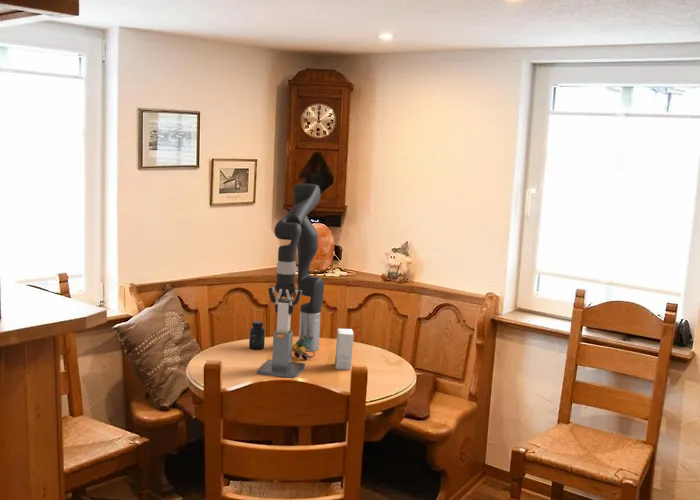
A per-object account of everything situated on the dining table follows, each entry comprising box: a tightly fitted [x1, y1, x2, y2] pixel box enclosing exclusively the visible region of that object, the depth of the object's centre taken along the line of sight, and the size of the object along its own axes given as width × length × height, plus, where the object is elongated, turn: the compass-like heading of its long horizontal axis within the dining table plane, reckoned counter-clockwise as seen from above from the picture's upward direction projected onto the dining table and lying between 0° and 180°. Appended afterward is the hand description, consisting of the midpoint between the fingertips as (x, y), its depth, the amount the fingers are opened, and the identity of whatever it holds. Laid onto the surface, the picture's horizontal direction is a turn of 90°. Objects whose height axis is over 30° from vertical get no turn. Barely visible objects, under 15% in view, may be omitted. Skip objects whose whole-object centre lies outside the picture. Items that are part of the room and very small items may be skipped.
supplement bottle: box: [248, 320, 266, 351], centre depth 318 cm, size 7×7×12 cm
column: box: [275, 297, 292, 334], centre depth 287 cm, size 5×5×21 cm
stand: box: [256, 330, 306, 379], centre depth 289 cm, size 16×16×16 cm
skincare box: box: [334, 328, 355, 371], centre depth 299 cm, size 8×7×16 cm
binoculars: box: [292, 335, 316, 361], centre depth 308 cm, size 9×9×10 cm
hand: (284, 313), depth 286 cm, fingers closed on column, 4 cm apart
